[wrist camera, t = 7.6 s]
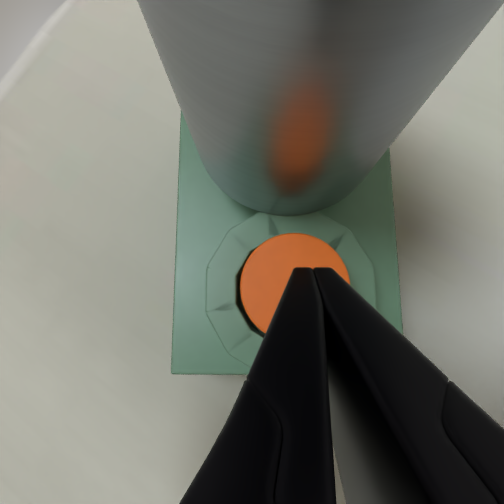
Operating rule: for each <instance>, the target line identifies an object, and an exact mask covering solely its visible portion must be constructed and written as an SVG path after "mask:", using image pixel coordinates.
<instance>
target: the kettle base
mask: <svg viewBox="0 0 504 504" xmlns="http://www.w3.org/2000/svg"><path fill="white" fill-rule="evenodd" d="M286 233H303V234H308V235H311V236H314V237H316V238H318V239H321V240H322V241H324V242H325V243H327V244H328V245H329V246H331V247H332V248H333V249H334V250H335V251H336V252H337V253H338V255H339V256H340V257H341V259H342V261H343V262H344V264H345V266H346V269H347V271H348V275H349V279H350V285H351V286H352V287H353V288H354V289H355V290H356V291H357V292H358V293H359V294H360V295H361V296H362V297H363V298H364V299H365V300H366V301H367V302H368V303H369V304H371V305H372V306H373V307H374V308H375V309H376V310H377V311H378V312H379V313H380V314H381V315H382V316H383V317H384V318H385V319H386V320H387V321H388V322H390V323H391V324H392V325H393V326H394V327H395V328H396V329H397V330H398V331H399V332H400V333H401V334H402V335H403V327H402V313H401V300H400V287H399V273H398V260H397V246H396V233H395V220H394V206H393V193H392V179H391V166H390V153H389V148H388V149H387V150H386V152H385V153H384V154H383V155H382V157H381V158H380V159H379V160H378V162H377V163H376V164H375V165H374V167H373V168H372V169H371V170H370V172H369V173H368V174H367V176H366V177H365V178H364V179H363V180H362V182H361V183H360V184H359V185H358V186H357V187H356V188H355V189H354V190H353V191H352V192H351V193H350V194H349V195H348V196H346V197H345V198H343V199H342V200H340V201H339V202H337V203H335V204H333V205H331V206H329V207H327V208H325V209H322V210H319V211H316V212H313V213H308V214H303V215H292V216H284V215H273V214H268V213H263V212H260V211H257V210H253V209H251V208H249V207H247V206H244V205H242V204H240V203H239V202H237V201H236V200H234V199H232V198H231V197H230V196H228V195H227V194H226V193H225V192H224V191H222V190H221V189H220V188H219V186H218V185H217V184H216V183H215V182H214V181H213V180H212V178H211V177H210V175H209V174H208V172H207V171H206V169H205V167H204V165H203V163H202V161H201V158H200V156H199V153H198V151H197V148H196V146H195V143H194V141H193V138H192V136H191V133H190V131H189V128H188V126H187V123H186V121H185V118H184V116H183V113H182V111H181V124H180V150H179V177H178V203H177V229H176V255H175V281H174V307H173V333H172V359H171V373H172V374H211V375H248V373H249V371H250V368H251V366H252V364H253V362H254V359H255V357H256V355H257V352H258V350H259V348H260V345H261V343H262V341H263V338H264V336H265V333H264V332H262V331H261V330H260V329H259V328H258V327H257V326H256V325H255V324H254V323H253V322H252V321H251V319H250V318H249V316H248V315H247V313H246V311H245V308H244V306H243V303H242V299H241V294H240V281H241V275H242V271H243V268H244V265H245V263H246V261H247V259H248V258H249V256H250V255H251V253H252V252H253V251H254V250H255V249H256V248H257V247H258V246H259V245H260V244H262V243H263V242H265V241H266V240H268V239H270V238H272V237H274V236H277V235H281V234H286Z"/></svg>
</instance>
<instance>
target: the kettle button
mask: <svg viewBox="0 0 504 504" xmlns="http://www.w3.org/2000/svg"><path fill="white" fill-rule="evenodd" d="M295 267H310V268H312V269H313V268H315V267H331V268H332V269H334V270H335V271H336V272H337V273H338V274H339V275H340V276H341V277H342V278H343V279H344V280H345V281H346V282H347V283H348V284H349V285H350V279H349V275H348V271H347V269H346V266H345V264H344V262H343V261H342V259H341V257H340V256H339V255H338V253H337V252H336V251H335V250H334V249H333V248H332V247H331V246H329V245H328V244H327V243H325V242H324V241H322V240H321V239H318V238H316V237H314V236H311V235H308V234H303V233H286V234H281V235H277V236H274V237H272V238H270V239H268V240H266V241H265V242H263V243H262V244H260V245H259V246H258V247H257V248H256V249H255V250H254V251H253V252H252V253H251V255H250V256H249V258H248V259H247V261H246V263H245V265H244V268H243V271H242V275H241V281H240V294H241V299H242V303H243V306H244V308H245V311H246V313H247V315H248V316H249V318H250V319H251V321H252V322H253V323H254V324H255V325H256V326H257V327H258V328H259V329H260V330H261V331H262V332H264V333H265V334H266V331H267V329H268V327H269V324H270V322H271V320H272V317H273V315H274V313H275V310H276V308H277V306H278V303H279V301H280V299H281V296H282V294H283V292H284V289H285V287H286V285H287V282H288V280H289V278H290V275H291V273H292V271H293V269H294V268H295Z"/></svg>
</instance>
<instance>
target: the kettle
mask: <svg viewBox="0 0 504 504" xmlns="http://www.w3.org/2000/svg"><path fill="white" fill-rule="evenodd" d="M137 1H138V3H139V6H140V8H141V11H142V13H143V16H144V18H145V21H146V23H147V26H148V28H149V31H150V33H151V36H152V38H153V41H154V43H155V46H156V48H157V51H158V53H159V56H160V58H161V61H162V63H163V66H164V68H165V71H166V73H167V76H168V78H169V81H170V83H171V86H172V88H173V91H174V93H175V96H176V98H177V101H178V103H179V106H180V108H181V111H182V113H183V116H184V118H185V121H186V123H187V126H188V128H189V131H190V133H191V136H192V138H193V141H194V143H195V146H196V148H197V151H198V153H199V156H200V158H201V161H202V163H203V165H204V167H205V169H206V171H207V172H208V174H209V175H210V177H211V178H212V180H213V181H214V182H215V183H216V184H217V185H218V186H219V188H220V189H221V190H222V191H224V192H225V193H226V194H227V195H228V196H230V197H231V198H232V199H234V200H236V201H237V202H239V203H240V204H242V205H244V206H247V207H249V208H251V209H253V210H257V211H260V212H263V213H268V214H273V215H284V216H292V215H303V214H308V213H313V212H316V211H319V210H322V209H325V208H327V207H329V206H331V205H333V204H335V203H337V202H339V201H340V200H342V199H343V198H345V197H346V196H348V195H349V194H350V193H351V192H352V191H353V190H354V189H355V188H356V187H357V186H358V185H359V184H360V183H361V182H362V180H363V179H364V178H365V177H366V176H367V174H368V173H369V172H370V170H371V169H372V168H373V167H374V165H375V164H376V163H377V162H378V160H379V159H380V158H381V157H382V155H383V154H384V153H385V152H386V150H387V149H388V148H389V147H390V145H391V144H392V143H393V142H394V140H395V139H396V138H397V137H398V135H399V134H400V133H401V131H402V130H403V129H404V128H405V126H406V125H407V124H408V123H409V121H410V120H411V119H412V118H413V116H414V115H415V114H416V113H417V111H418V110H419V109H420V108H421V106H422V105H423V104H424V103H425V101H426V100H427V99H428V98H429V96H430V95H431V94H432V93H433V91H434V90H435V89H436V87H437V86H438V85H439V84H440V82H441V81H442V80H443V79H444V77H445V76H446V75H447V74H448V72H449V71H450V70H451V69H452V67H453V66H454V65H455V64H456V62H457V61H458V60H459V59H460V57H461V56H462V55H463V54H464V52H465V51H466V50H467V48H468V47H469V46H470V45H471V43H472V42H473V41H474V40H475V38H476V37H477V36H478V35H479V33H480V32H481V31H482V30H483V28H484V27H485V26H486V25H487V23H488V22H489V21H490V20H491V18H492V17H493V16H494V15H495V13H496V12H497V11H498V10H499V8H500V7H501V6H502V4H503V3H504V0H137Z"/></svg>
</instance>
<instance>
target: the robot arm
mask: <svg viewBox="0 0 504 504" xmlns="http://www.w3.org/2000/svg"><path fill="white" fill-rule="evenodd" d="M332 442H333V445H332ZM333 447H334V451H335V456H336V460H337V464H338V469H339V473H340V478H341V482H342V487H343V491H344V496H345V500H346V504H504V429H503V428H502V427H501V426H500V425H499V424H497V423H496V422H495V421H494V420H493V419H492V418H491V417H490V416H489V415H488V414H486V413H485V412H484V411H483V410H482V409H481V408H480V407H479V406H478V405H477V404H475V403H474V402H473V401H472V400H471V399H470V398H469V397H468V396H467V395H466V394H465V393H464V392H463V391H462V390H461V389H459V388H458V387H457V386H456V385H455V384H454V383H453V382H451V381H449V382H448V378H447V376H445V375H444V374H443V373H442V372H441V371H440V370H439V369H438V368H437V367H436V366H435V365H434V364H433V363H432V362H431V361H430V360H429V359H428V358H426V357H425V356H424V355H423V354H422V353H421V352H420V351H419V350H418V349H417V348H416V347H415V346H414V345H413V344H412V343H411V342H410V341H409V340H407V339H406V338H405V337H404V336H403V335H402V334H401V333H400V332H399V331H398V330H397V329H396V328H395V327H394V326H393V325H392V324H391V323H390V322H388V321H387V320H386V319H385V318H384V317H383V316H382V315H381V314H380V313H379V312H378V311H377V310H376V309H375V308H374V307H373V306H372V305H371V304H369V303H368V302H367V301H366V300H365V299H364V298H363V297H362V296H361V295H360V294H359V293H358V292H357V291H356V290H355V289H354V288H353V287H352V286H351V285H349V284H348V283H347V282H346V281H345V280H344V279H343V278H342V277H341V276H340V275H339V274H338V273H337V272H336V271H335V270H334V269H332V268H331V267H315V268H313V269H312V268H310V267H295V268H294V269H293V271H292V273H291V275H290V278H289V280H288V282H287V285H286V287H285V289H284V292H283V294H282V296H281V299H280V301H279V303H278V306H277V308H276V310H275V313H274V315H273V317H272V320H271V322H270V324H269V327H268V329H267V331H266V334H265V336H264V338H263V341H262V343H261V345H260V348H259V350H258V352H257V355H256V357H255V359H254V362H253V364H252V366H251V368H250V371H249V373H248V375H247V380H246V381H245V382H244V384H243V386H242V389H241V391H240V393H239V396H238V398H237V400H236V402H235V404H234V406H233V409H232V411H231V413H230V415H229V417H228V419H227V421H226V423H225V425H224V427H223V429H222V431H221V433H220V435H219V436H218V438H217V440H216V442H215V444H214V445H213V447H212V449H211V451H210V453H209V454H208V456H207V458H206V460H205V461H204V463H203V465H202V466H201V468H200V470H199V471H198V473H197V475H196V476H195V478H194V480H193V481H192V483H191V485H190V487H189V488H188V490H187V492H186V493H185V495H184V497H183V498H182V500H181V502H180V503H179V504H336V491H335V476H334V460H333Z"/></svg>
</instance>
